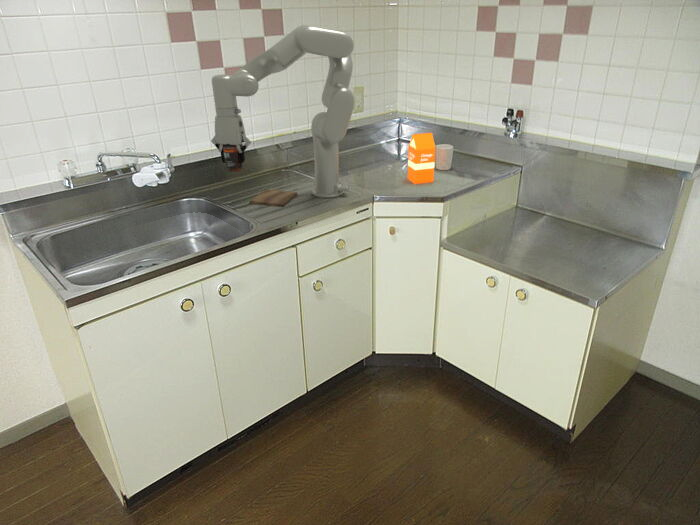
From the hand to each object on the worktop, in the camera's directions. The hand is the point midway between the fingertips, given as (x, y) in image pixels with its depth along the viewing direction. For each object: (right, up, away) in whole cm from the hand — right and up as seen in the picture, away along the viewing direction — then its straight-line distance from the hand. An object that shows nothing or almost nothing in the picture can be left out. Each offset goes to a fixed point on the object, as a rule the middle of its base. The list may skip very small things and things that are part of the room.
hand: (233, 161), depth 193 cm
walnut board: (+13, -12, +14) cm, 22 cm away
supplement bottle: (0, -3, +1) cm, 3 cm away
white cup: (+85, +6, +48) cm, 98 cm away
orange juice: (+73, -2, +33) cm, 80 cm away
